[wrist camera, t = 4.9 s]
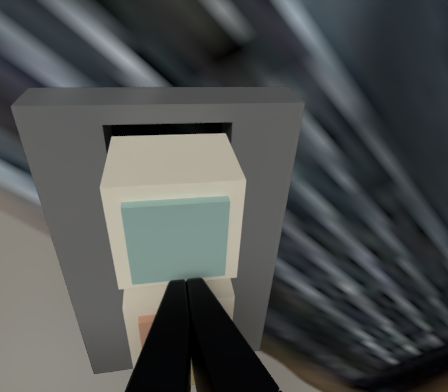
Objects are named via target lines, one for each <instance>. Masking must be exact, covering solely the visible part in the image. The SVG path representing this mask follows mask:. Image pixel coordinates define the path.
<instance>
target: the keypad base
mask: <svg viewBox="0 0 448 392" xmlns="http://www.w3.org/2000/svg"><path fill="white" fill-rule="evenodd" d="M304 106H305V102H304V101H303V100H302V99H300V98H299V97H298V96H297V95H296V94H295V93H294V92H293V91H292V90H290V89H289V88H288V87H107V88H28V89H27V90H26V91H25V92H24V93H23V94H22V95H21V96H20V97H19V98H18V99H17V100H16V101H15V102H14V103H13V104H12V105H11V109H12V112H13V116H14V119H15V122H16V125H17V129H18V132H19V135H20V138H21V141H22V145H23V148H24V151H25V154H26V157H27V161H28V164H29V167H30V170H31V173H32V177H33V180H34V183H35V186H36V190H37V193H38V196H39V199H40V202H41V206H42V209H43V212H44V215H45V218H46V222H47V225H48V228H49V231H50V234H51V238H52V241H53V244H54V247H55V250H56V254H57V257H58V260H59V263H60V266H61V270H62V273H63V276H64V279H65V283H66V286H67V289H68V292H69V295H70V298H71V302H72V305H73V308H74V311H75V315H76V318H77V321H78V324H79V327H80V331H81V334H82V337H83V340H84V344H85V347H86V350H87V353H88V356H89V359H90V363H91V366H92V369H93V372H94V374H98V373H104V372H112V371H119V370H126V369H133V364H132V358H131V353H130V348H129V342H128V337H127V332H126V326H125V321H124V315H123V310H122V307H123V295H124V289H120V290H119V289H118V283H117V278H116V273H115V267H114V262H113V257H112V251H111V246H110V241H109V235H108V230H107V225H106V219H105V214H104V209H103V203H102V198H101V193H100V184H101V180H102V175H103V171H104V167H105V162H106V158H107V154H108V150H109V145H110V141H111V137H112V136H113V135H112V128H111V125H127V124H172V123H218V122H222V133H226V135H227V137H228V140H229V142H230V144H231V146H232V149H233V151H234V153H235V156H236V158H237V160H238V162H239V165H240V167H241V169H242V171H243V174H244V176H245V178H246V189H245V199H244V209H243V219H242V229H241V240H240V250H239V260H238V270H237V278H230V279H231V283H232V287H233V291H234V295H235V300H234V311H233V322H234V324H235V325H236V326H237V328H238V329H239V331H240V332H241V334H242V335H243V336H244V338H245V339H246V341H247V342H248V344H249V345H250V347H251V348H252V349H253V351H259V350H260V345H261V339H262V334H263V328H264V323H265V318H266V312H267V307H268V301H269V296H270V291H271V285H272V280H273V274H274V269H275V263H276V258H277V253H278V247H279V242H280V236H281V231H282V225H283V220H284V215H285V209H286V204H287V198H288V193H289V187H290V182H291V177H292V171H293V166H294V160H295V155H296V149H297V144H298V139H299V133H300V128H301V122H302V117H303V111H304Z"/></svg>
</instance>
